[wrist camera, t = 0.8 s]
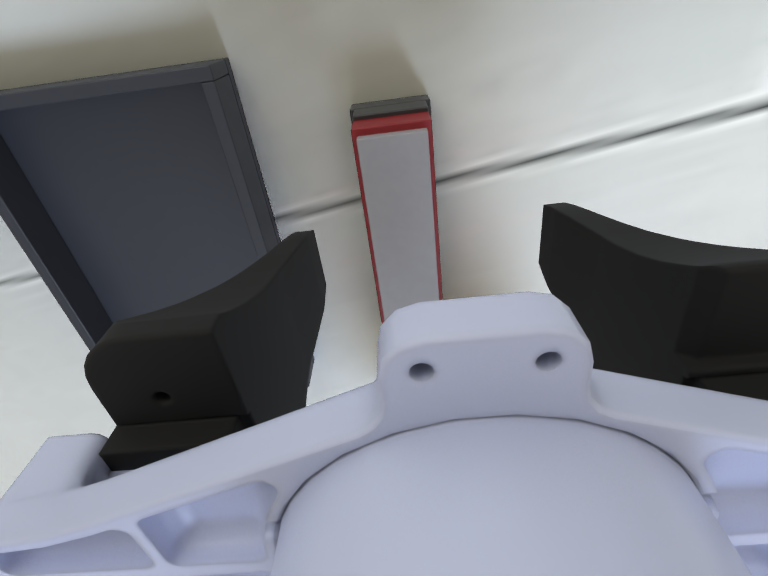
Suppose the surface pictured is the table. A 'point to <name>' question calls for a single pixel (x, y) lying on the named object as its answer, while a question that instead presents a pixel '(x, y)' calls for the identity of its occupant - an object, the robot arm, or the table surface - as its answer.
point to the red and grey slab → (399, 198)
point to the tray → (133, 189)
